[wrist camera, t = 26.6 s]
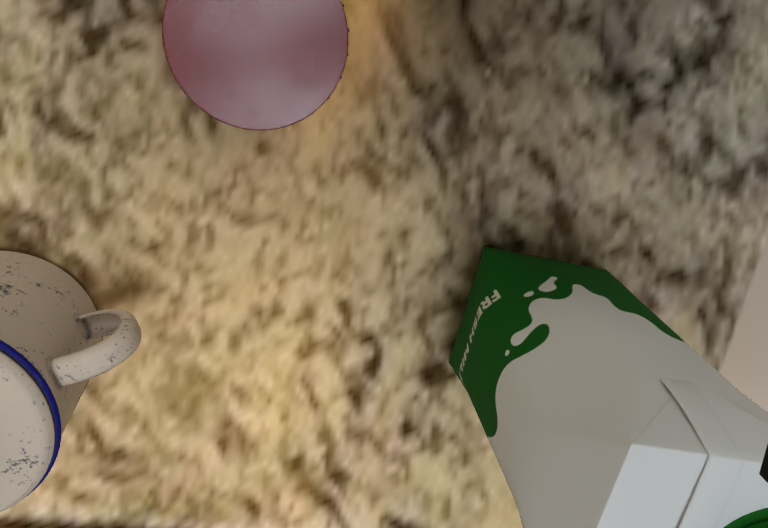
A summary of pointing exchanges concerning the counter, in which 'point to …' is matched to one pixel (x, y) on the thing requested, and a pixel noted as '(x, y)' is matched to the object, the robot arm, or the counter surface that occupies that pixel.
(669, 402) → the milk carton
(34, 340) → the teacup with lid
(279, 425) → the counter surface
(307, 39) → the jam lid
